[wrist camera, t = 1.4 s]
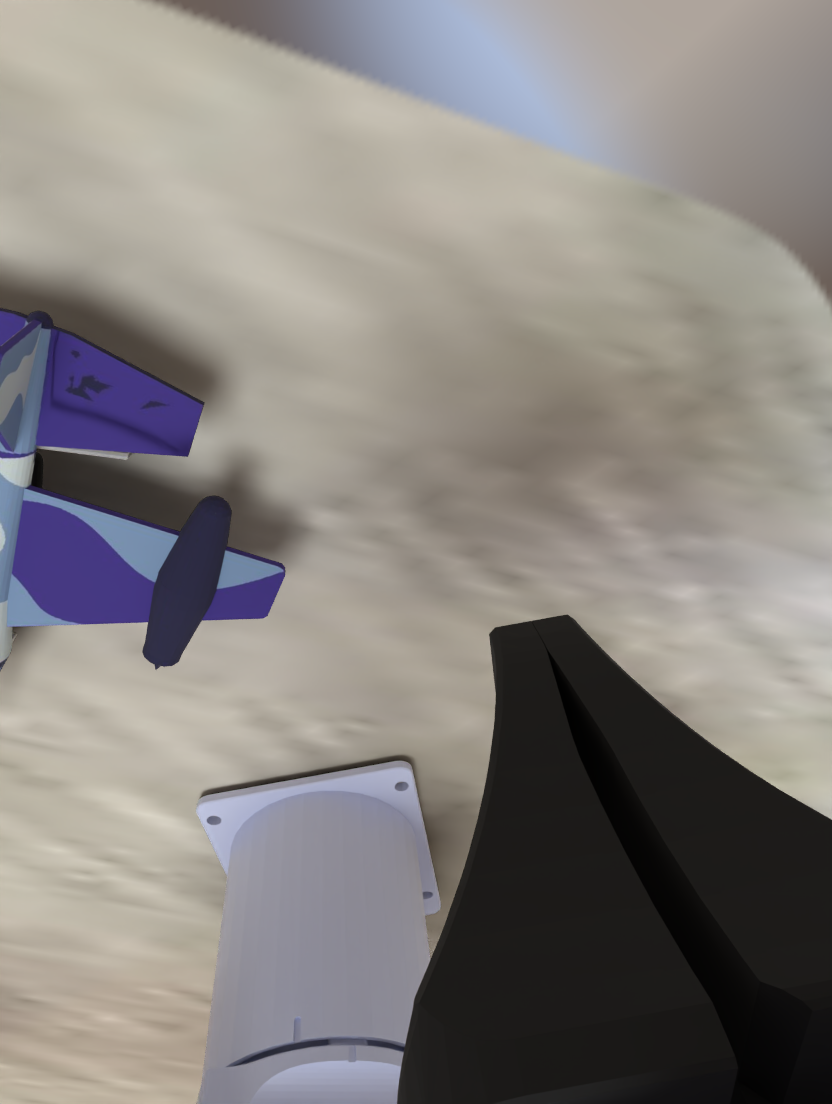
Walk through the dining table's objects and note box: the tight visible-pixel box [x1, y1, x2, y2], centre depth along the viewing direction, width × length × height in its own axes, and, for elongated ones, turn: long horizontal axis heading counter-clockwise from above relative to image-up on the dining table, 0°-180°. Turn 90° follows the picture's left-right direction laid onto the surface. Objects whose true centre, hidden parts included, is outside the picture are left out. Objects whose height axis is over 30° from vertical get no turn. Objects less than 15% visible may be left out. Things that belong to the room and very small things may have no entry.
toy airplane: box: [0, 308, 285, 671], centre depth 19 cm, size 13×14×4 cm
